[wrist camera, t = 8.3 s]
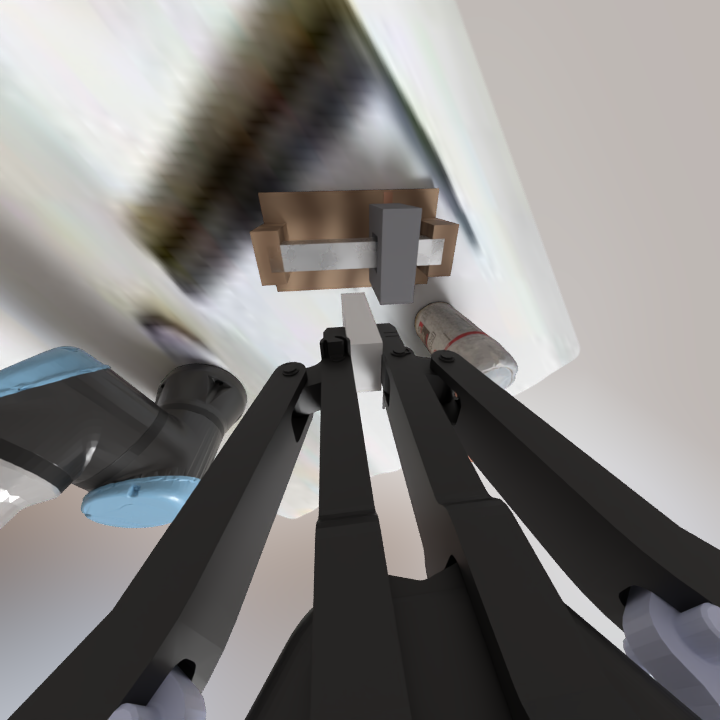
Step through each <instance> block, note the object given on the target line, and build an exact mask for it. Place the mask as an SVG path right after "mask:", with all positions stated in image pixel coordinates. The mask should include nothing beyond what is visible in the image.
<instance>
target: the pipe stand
mask: <svg viewBox="0 0 720 720" xmlns="http://www.w3.org/2000/svg"><path fill="white" fill-rule="evenodd" d="M438 194H439V189H436V188H435V189H393V190H351V191H310V192H268V193H258V196H259V201H260V206H261V211H262V216H263V221H264V224H262V225H261V226H259V227H257V228H255V229H254V230H252V231H250V235H251V240H252V244H253V248H254V253H255V257H256V261H257V266H258V270H259V274H260V278H261V283H262V286H265V285H276V286H277V291H278V292H283V291H301V290H320V289H339V288H357V287H372V286H371V283H370V281H369V268H359V269H338V270H317V271H296V272H285V271H284V268H283V267H284V266H283V260H282V254H281V248H280V245H281V243H282V242H283V241H294V240H319V239H345V238H369V204H387V203H401V204H405V205H410V206H415V207H419V208H422V215H421V226H420V236H423V235H425V236H427V237H429V238H431V239H438V242H439V240H440V239H441V240H442V241H443V239H445V240H444V244H443V246H444V247H443V246H442V248H443V254H442V261H441V265H439V264H438V265H421V266H416V276H415V284H427V281H428V277H439V276H450V274H451V269H452V263H453V257H454V251H455V246H456V240H457V234H458V228H459V224H456V223H452V222H449V221H445V220H442V219H438V218H435V217H436V209H437V202H438ZM432 244H433V241H432ZM439 245H440V244H439ZM269 246H270V247H269ZM440 246H441V245H440ZM267 249H268V250H267ZM271 249H272V250H271ZM279 249H280V250H279ZM432 250H434V249H432ZM441 250H442V249H441ZM268 251H269V253H270V254H271V255H270V254H269V253H268ZM273 251H274V252H273ZM271 252H273V253H271ZM276 254H277V255H276ZM275 255H276V256H277V257H275V258H272V259H273V260H272V259H271V257H272V256H275ZM269 257H270V258H269ZM438 257H439V255H438ZM276 259H277V261H278V260H279V261H278V263H275V264H274V263H273V262H276ZM440 259H441V258H440ZM274 260H275V261H274ZM271 261H272V262H271ZM271 263H272V264H271ZM281 263H282V264H281ZM436 263H437V262H436ZM277 264H279V265H280V266H282V267H280V266H279V265H278V266H279V268H281V269H282V271H283V272H277V271H276V270H278V271H279V268H277V269H276V267H278V266H277ZM275 265H276V266H275ZM273 266H274V267H275V268H273ZM272 268H273V269H272ZM275 269H276V270H275ZM273 271H276V272H275V273H273Z"/></svg>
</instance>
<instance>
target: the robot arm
mask: <svg viewBox="0 0 720 720" xmlns="http://www.w3.org/2000/svg"><path fill="white" fill-rule="evenodd" d="M341 300H342V316H343V327H335V328H327V329H326V330H325V331H324V332H323V339H321V341H320V350H321V358H322V360H321V362H319V363H318V364H316V365H315V366H312V367H309V368H306V367H305V366H304V365H303V364H301V363H298V362H289V363H285V364H283V365H281V366H279V367H278V368H277V369H276V370H275V371H274V372H273V374H272V375H271V377H270V378H269V380H268V381H267V383H266V384H265V386H264V387H263V389H262V390H261V392H260V393H259V395H258V396H257V398H256V399H255V400H254V402H253V403H252V405H251V406H250V408H249V409H248V411H247V412H246V414H245V415H244V417H243V418H242V420H241V421H240V423H239V424H238V426H237V427H236V428H235V430H234V431H233V433H232V434H231V436H230V437H229V439H228V440H227V442H226V443H225V445H224V446H223V448H222V449H221V451H220V452H219V454H218V455H217V457H216V458H215V456H216V453H217V451H218V448H219V446H220V443H221V441H222V438H223V436H224V434H225V433H226V432H227V431H228V430H229V429H230V428H231V426H232V425H233V424H234V423H235V422H236V421H238V420H239V418H240V417H241V416H242V414H243V412H244V409H245V406H246V403H247V395H246V391H245V389H244V387H243V386H242V384H241V383H240V382H239V381H238V380H237V379H236V378H235V377H234V376H233V375H231V374H230V373H228V372H226V371H224V370H222V369H220V368H217V367H214V366H210V365H205V364H188V365H184V366H180V367H178V368H176V369H174V370H172V371H171V372H170V373H169V374H168V375H167V376H166V378H165V379H164V380H163V381H162V383H161V384H160V386H159V389H158V393H157V397H156V401H155V403H154V402H153V401H151V400H150V399H149V398H148V397H146V396H145V395H144V394H142V393H141V392H140V391H139V390H137V389H136V388H135V387H133V386H132V385H131V384H129V383H128V382H127V381H126V380H124V379H123V378H122V377H120V376H119V375H118V374H117V373H115V372H114V371H113V370H111V369H110V368H111V367H110V366H108V365H104V364H102V363H101V362H99V361H98V360H96V359H95V358H94V357H92V356H91V355H89V354H88V353H86V352H85V351H83V350H82V349H79V348H76V347H71V346H63V347H57V348H53V349H51V350H48V351H45V352H43V353H40V354H38V355H35V356H33V357H30V358H28V359H26V360H23V361H21V362H19V363H16V364H14V365H12V366H9V367H7V368H5V369H2V370H0V529H1V528H2V527H3V526H4V525H5V524H6V523H8V521H10V520H11V519H12V518H13V517H14V516H15V515H16V514H17V513H18V512H19V511H20V510H22V509H24V508H26V507H28V506H31V505H34V504H37V503H41V502H45V501H48V500H51V499H54V498H57V497H58V496H59V495H60V494H61V493H62V492H63V491H64V490H65V489H66V488H67V487H68V486H69V485H70V484H71V483H72V484H74V485H76V486H78V487H80V488H82V489H85V490H87V491H88V492H89V493H88V494H87V495H85V497H84V498H83V502H82V505H81V511H82V513H85V516H86V517H87V518H89V519H90V520H92V521H95V522H97V523H101V524H104V525H109V526H115V527H125V528H143V527H144V528H145V527H154V526H160V525H164V524H168V523H171V522H172V523H171V524H170V526H169V527H168V529H167V530H166V532H165V533H164V535H163V536H162V538H161V539H160V541H159V542H158V544H157V545H156V547H155V548H154V549H153V551H152V552H151V554H150V556H149V557H148V558H147V560H146V561H145V563H144V564H143V566H142V567H141V569H140V570H139V572H138V573H137V575H136V576H135V578H134V579H133V580H132V582H131V583H130V585H129V586H128V588H127V589H126V591H125V592H124V594H123V595H122V597H121V598H120V600H119V601H118V603H117V604H116V606H115V607H114V609H113V610H112V611H111V612H110V613H109V614H108V615H107V616H106V617H105V619H103V621H101V622H100V624H99V625H98V626H97V627H96V628H95V629H94V630H93V631H92V632H91V633H90V634H89V635H88V636H87V637H86V638H85V639H84V640H83V641H82V642H81V643H80V644H79V645H78V646H77V648H76V649H75V650H74V651H73V652H72V653H71V654H70V655H69V656H68V657H67V658H66V659H65V660H64V661H63V662H62V663H61V664H60V665H59V666H58V667H57V669H56V670H55V671H54V672H53V673H52V674H51V675H50V676H49V677H48V678H47V679H46V680H45V681H44V682H43V683H42V684H41V685H40V686H39V687H38V688H37V689H36V690H35V692H33V693H32V695H31V696H30V697H29V698H28V699H27V700H26V701H25V702H24V703H23V704H22V705H21V706H20V707H19V708H18V709H17V710H16V711H15V712H14V713H13V714H12V715H11V716H10V717H9V719H8V720H206V709H205V703H204V698H203V696H202V695H201V693H202V691H203V690H204V688H205V686H206V684H207V683H208V681H209V679H210V677H211V675H212V673H213V671H214V669H215V667H216V665H217V663H218V661H219V658H220V657H221V655H222V652H223V651H224V648H225V646H226V643H227V641H228V639H229V637H230V634H231V632H232V629H233V627H234V625H235V622H236V620H237V616H238V614H239V612H240V609H241V606H242V604H243V601H244V599H245V596H246V593H247V591H248V588H249V585H250V583H251V580H252V577H253V575H254V572H255V569H256V567H257V564H258V561H259V559H260V556H261V553H262V551H263V548H264V545H265V543H266V540H267V537H268V535H269V532H270V529H271V527H272V524H273V521H274V519H275V516H276V514H277V511H278V508H279V506H280V503H281V500H282V498H283V495H284V492H285V490H286V487H287V484H288V482H289V479H290V476H291V474H292V471H293V468H294V466H295V463H296V460H297V458H298V455H299V452H300V450H301V447H302V444H303V442H304V439H305V437H306V434H307V431H308V429H309V426H310V423H311V421H312V418H313V412H316V411H319V410H321V422H320V478H319V517H318V521H317V524H316V533H315V564H314V565H315V566H314V602H313V608H312V609H311V610H310V611H309V612H308V613H307V614H306V615H305V616H304V618H303V619H302V620H301V621H300V623H299V624H298V626H297V627H296V629H295V630H294V631H293V633H292V635H291V636H290V638H289V640H288V642H287V643H286V645H285V647H284V649H283V650H282V653H281V654H280V656H279V658H278V660H277V662H276V663H275V665H274V667H273V669H272V671H271V672H270V674H269V676H268V678H267V680H266V682H265V684H264V685H263V687H262V689H261V691H260V693H259V695H258V696H257V698H256V700H255V702H254V704H253V705H252V707H251V709H250V711H249V713H248V715H247V717H246V718H245V720H720V550H719V549H717V548H715V547H714V546H712V545H710V544H709V543H707V542H705V541H703V540H702V539H700V538H698V537H696V536H695V535H693V534H691V533H689V532H688V531H686V530H684V529H683V528H681V527H679V526H678V525H677V524H675V523H674V522H673V521H671V520H670V519H669V518H668V517H666V516H665V515H664V514H663V513H661V512H660V511H658V509H656V508H655V507H654V506H652V505H651V504H650V503H648V502H647V501H646V500H645V499H643V498H642V497H641V496H640V495H638V494H637V493H636V492H634V491H633V490H632V489H630V488H629V487H628V486H627V485H626V484H624V483H623V482H621V481H620V480H619V479H618V478H617V477H615V476H614V475H613V474H611V473H610V472H609V471H608V470H606V469H605V468H604V467H602V466H601V465H600V464H599V463H597V462H596V461H595V460H593V459H592V458H591V457H590V456H588V455H587V454H586V453H584V452H583V451H582V450H581V449H579V448H578V447H577V446H575V445H574V444H573V443H572V442H570V441H569V440H568V439H566V438H565V437H564V436H563V435H561V434H560V433H559V432H558V431H556V430H555V429H554V428H552V427H551V426H550V425H549V424H547V423H546V422H545V421H543V420H542V419H541V418H540V417H538V416H537V415H536V414H534V413H533V412H532V411H531V410H529V409H528V408H527V407H525V406H524V405H523V404H522V403H520V402H519V401H518V400H517V399H515V398H514V397H513V396H511V395H510V394H509V393H508V392H506V391H505V390H504V389H503V388H501V387H500V386H499V385H497V384H496V383H495V382H494V381H492V380H491V379H490V378H488V377H487V376H486V375H485V374H483V373H482V372H481V371H479V370H478V369H477V368H476V367H474V366H473V365H472V364H471V363H469V362H468V361H467V360H465V359H464V358H463V357H462V356H460V355H459V354H457V353H455V352H453V351H450V350H437V351H435V352H433V353H432V355H431V358H423V357H417V356H415V355H414V353H413V351H412V350H411V349H410V348H408V347H405V346H404V344H403V342H402V340H401V338H400V336H399V334H398V332H397V330H396V328H395V327H394V326H393V325H391V324H390V323H384V324H376V323H375V320H374V317H373V315H372V312H371V309H370V307H369V304H368V301H367V298H366V296H365V293H364V292H363V293H345V294H341ZM381 383H382V386H383V409H385V407H386V410H387V414H388V418H389V422H390V425H391V429H392V433H393V436H394V440H395V444H396V448H397V451H398V455H399V459H400V462H401V466H402V470H403V473H404V477H405V481H406V485H407V488H408V492H409V496H410V499H411V503H412V507H413V511H414V514H415V518H416V522H417V525H418V529H419V533H420V537H421V540H422V544H423V548H424V555H425V567H426V573H427V578H428V579H426V580H421V581H420V580H414V579H408V578H403V577H397V576H392V575H388V572H387V566H386V560H385V554H384V547H383V541H382V536H381V529H380V524H379V519H378V515H377V513H376V511H375V506H374V501H373V494H372V487H371V481H370V475H369V468H368V462H367V455H366V449H365V443H364V436H363V430H362V423H361V417H360V411H359V404H358V398H357V393H358V392H369V391H380V390H381ZM454 393H456V394H457V395H458V396H459V398H457V397H456V396H455V395H454ZM468 456H469V457H468ZM214 458H215V459H214ZM469 458H470V459H471V460H472V461H473V462H474V464H475V465H476V466H477V467H478V469H479V470H480V471H481V472H482V473H483V475H484V476H485V477H486V478H487V479H488V481H489V482H490V483H491V484H492V485H493V487H494V488H495V489H496V490H497V492H498V493H499V494H500V495H501V496H502V497H503V499H504V500H505V501H506V502H507V504H508V505H509V506H510V507H511V508H512V510H513V511H514V512H515V513H516V514H517V516H518V517H519V518H520V519H521V521H522V522H523V523H524V524H525V525H526V527H527V528H528V529H529V530H530V531H531V533H532V534H533V535H534V536H535V537H536V539H537V540H538V541H539V542H540V543H541V545H542V546H543V547H544V548H545V549H546V551H547V552H548V553H549V554H550V556H551V557H552V558H553V559H554V560H555V562H556V563H557V564H558V565H559V566H560V568H561V569H562V570H563V571H564V572H565V573H566V575H567V576H568V577H569V578H570V579H571V580H572V581H573V583H574V584H575V585H576V586H577V587H578V588H579V589H580V590H581V592H582V593H583V594H584V595H585V596H586V597H587V598H588V599H589V600H590V601H591V602H592V603H593V604H594V605H595V606H596V607H597V608H599V610H601V612H602V613H603V614H604V615H605V616H607V617H608V618H609V619H610V620H611V621H612V622H613V623H614V624H616V625H617V626H618V627H619V628H620V629H621V630H622V631H623V632H624V633H625V637H626V638H625V639H624V641H623V647H624V650H625V652H626V655H625V654H624V653H623V652H622V651H621V650H619V649H618V648H617V647H616V646H615V645H614V644H612V643H611V642H610V641H609V640H608V639H606V638H605V637H604V636H603V635H602V634H600V633H599V632H598V631H597V630H596V629H595V628H593V627H592V626H591V625H590V624H589V623H588V622H586V621H585V620H584V619H583V618H582V617H580V616H579V615H578V614H577V613H576V612H575V611H573V610H572V609H571V608H570V607H569V606H567V605H566V604H565V603H564V602H563V601H562V599H561V597H560V596H559V594H558V592H557V590H556V589H555V587H554V585H553V584H552V582H551V580H550V578H549V576H548V575H547V573H546V571H545V569H544V568H543V566H542V564H541V563H540V561H539V559H538V557H537V555H536V554H535V552H534V550H533V548H532V547H531V545H530V543H529V542H528V540H527V538H526V536H525V535H524V533H523V531H522V529H521V527H520V526H519V524H518V522H517V521H516V519H515V517H514V516H513V513H512V512H511V511H510V509H509V508H508V506H507V505H506V504H505V503H504V502H503V501H502V500H501V499H497V498H493V497H491V496H490V495H489V494H488V492H487V491H486V489H485V487H484V485H483V483H482V482H481V480H480V478H479V476H478V474H477V472H476V471H475V468H474V466H473V464H472V463H471V461H470V459H469Z"/></svg>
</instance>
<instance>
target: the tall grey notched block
mask: <svg viewBox="0 0 720 720" xmlns="http://www.w3.org/2000/svg"><path fill="white" fill-rule="evenodd" d="M421 215H422V208H419V207H415V206H410V205H405V204H401V203H387V204H369V238H371V237H378V243H377V268H369V281H370V283H371V286H372V288H373V290H374V292H375V294H376V296H377V299H378V301H379V303H380V305H387V304H404V303H413V296H414V286H415V276H416V266H417V256H418V246H419V236H420V226H421Z"/></svg>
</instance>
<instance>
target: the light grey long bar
mask: <svg viewBox="0 0 720 720" xmlns="http://www.w3.org/2000/svg"><path fill="white" fill-rule="evenodd" d="M444 240H445V239H443V241H442V240H441V239H440V240H439V242H438V239H431V238H429V237H427V236H425V235H423V236H419V246H418V256H417V266H421V265H438V264H439V265H441V261H442V254H443V248H442V246H443V244H444ZM432 241H433V244H432ZM377 243H378V237H371V238H345V239H319V240H294V241H283V242H282V243H281V245H280V248H281V254H282V260H283V266H284V267H283V268H284V271H285V272H296V271H317V270H338V269H359V268H377ZM439 244H440V245H441V246H440V245H439ZM269 247H270V246H269ZM443 247H444V246H443ZM432 249H434V250H432ZM441 249H442V250H441ZM267 250H268V249H267ZM271 250H272V249H271ZM279 250H280V249H279ZM273 252H274V251H273ZM273 252H271V253H273ZM268 253H269V251H268ZM269 254H270V253H269ZM270 255H271V254H270ZM276 255H277V254H276ZM276 255H275V256H272V257H271V259H272V258H275V257H277V256H276ZM438 255H439V257H438ZM269 258H270V257H269ZM440 258H441V259H440ZM272 260H273V259H272ZM274 261H275V260H274ZM278 261H279V260H278ZM278 261H277V259H276V262H273V263H274V264H275V263H278ZM271 262H272V261H271ZM436 262H437V263H436ZM271 264H272V263H271ZM281 264H282V263H281ZM278 265H279V264H277V266H278ZM275 266H276V265H275ZM279 266H280V265H279ZM279 266H278V267H276V269H277V268H279ZM280 267H282V266H280ZM273 268H275V267H274V266H273ZM273 268H272V269H273ZM276 269H275V270H276ZM276 271H277V272H283V271H282V269H281V268H279V271H278V270H276ZM276 271H273V273H275V272H276Z"/></svg>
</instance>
